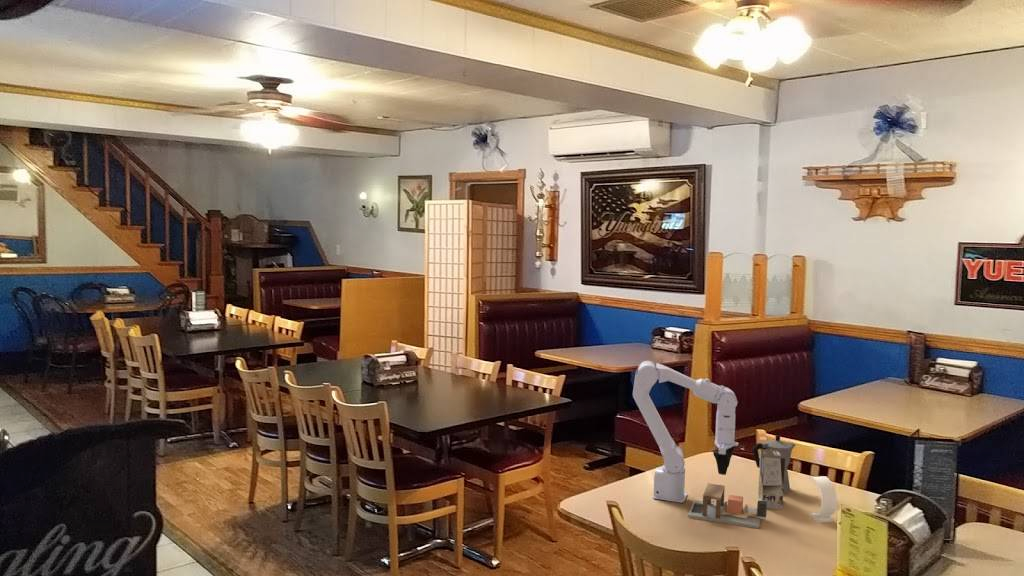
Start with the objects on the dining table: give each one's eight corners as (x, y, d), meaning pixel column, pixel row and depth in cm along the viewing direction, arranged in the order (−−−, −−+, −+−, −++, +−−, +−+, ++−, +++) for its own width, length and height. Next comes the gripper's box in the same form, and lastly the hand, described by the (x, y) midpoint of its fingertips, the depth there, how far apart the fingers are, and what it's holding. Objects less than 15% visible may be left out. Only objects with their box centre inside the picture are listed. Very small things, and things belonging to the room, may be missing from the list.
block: (727, 512, 222) (728, 499, 221) (728, 507, 225) (729, 494, 225) (741, 514, 220) (742, 501, 220) (742, 509, 224) (743, 496, 223)
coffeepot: (785, 482, 252) (787, 430, 251) (801, 492, 243) (804, 438, 242) (743, 485, 249) (745, 432, 247) (758, 495, 240) (761, 440, 238)
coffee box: (783, 510, 228) (785, 458, 227) (761, 508, 229) (763, 456, 228) (778, 499, 237) (781, 449, 236) (757, 497, 238) (759, 448, 237)
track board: (687, 517, 221) (688, 514, 221) (694, 502, 234) (694, 499, 233) (758, 528, 214) (759, 525, 214) (761, 512, 226) (761, 509, 226)
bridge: (702, 515, 221) (703, 495, 220) (707, 502, 231) (707, 483, 230) (719, 518, 219) (720, 497, 218) (723, 505, 229) (724, 485, 229)
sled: (721, 514, 221) (722, 500, 221) (723, 507, 227) (724, 493, 226) (765, 521, 217) (766, 506, 216) (766, 514, 222) (767, 499, 222)
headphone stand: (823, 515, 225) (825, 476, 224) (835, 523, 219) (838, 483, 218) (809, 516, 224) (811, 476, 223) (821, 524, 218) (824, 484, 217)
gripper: (736, 435, 224) (734, 479, 226) (740, 423, 238) (739, 465, 239) (712, 432, 227) (710, 476, 228) (717, 421, 240) (716, 462, 242)
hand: (723, 470), depth 234 cm, fingers open, 7 cm apart
